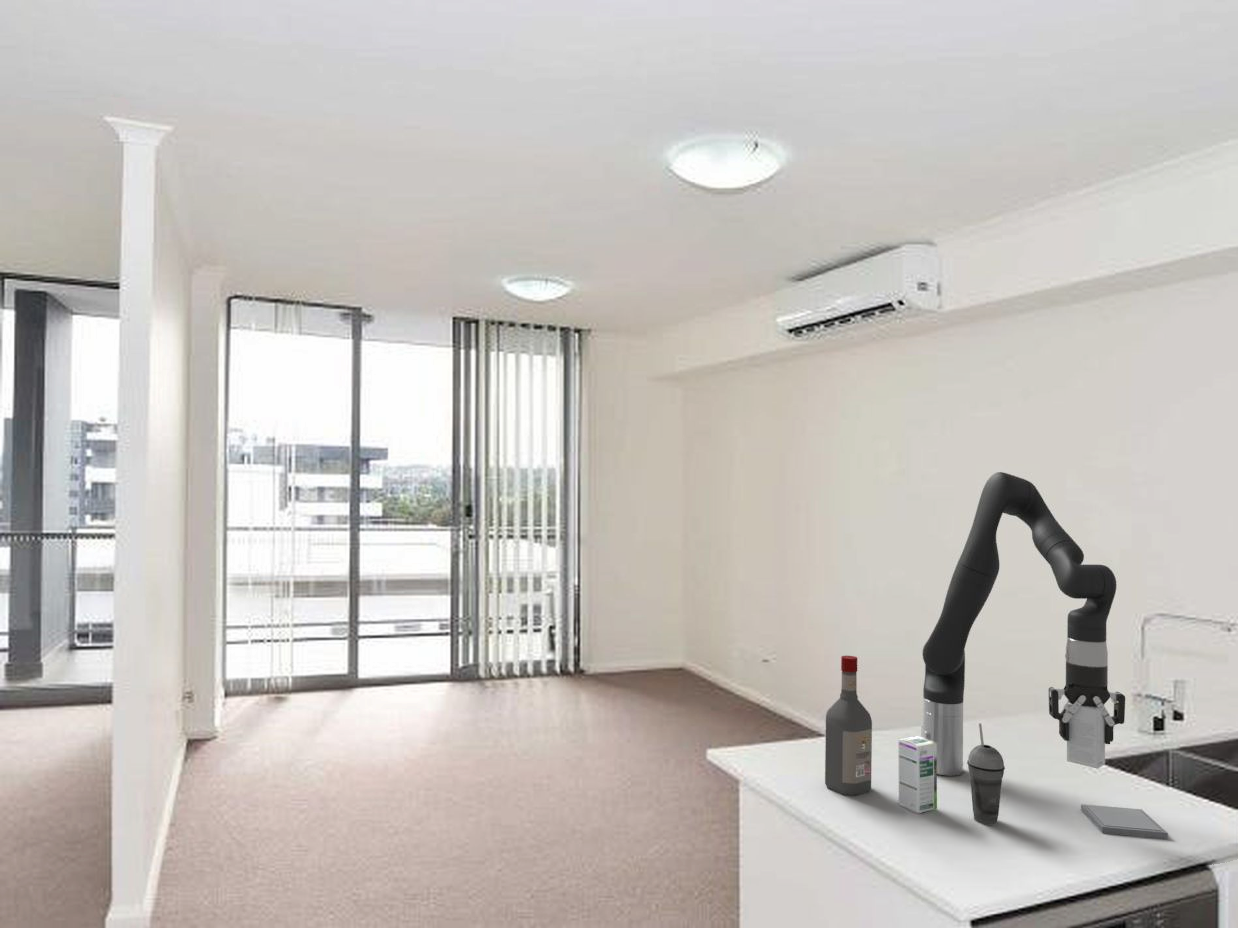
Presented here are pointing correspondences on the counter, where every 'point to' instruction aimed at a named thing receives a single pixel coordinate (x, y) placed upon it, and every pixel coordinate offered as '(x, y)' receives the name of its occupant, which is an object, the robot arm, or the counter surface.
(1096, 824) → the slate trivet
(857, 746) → the liquor
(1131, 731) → the counter surface
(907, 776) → the syrup box
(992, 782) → the beverage cup
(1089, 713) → the skincare box
